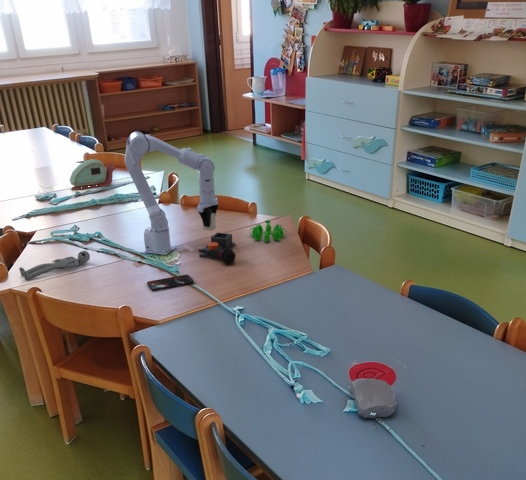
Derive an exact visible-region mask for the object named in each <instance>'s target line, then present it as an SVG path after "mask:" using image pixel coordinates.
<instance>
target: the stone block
mask: <svg viewBox="0 0 526 480" xmlns="http://www.w3.org/2000/svg"><path fill="white" fill-rule="evenodd" d="M350 384H351V385H350V393H351V396H352V399H353V402H354V406H355V408H356V410H357V411H356V412H357V413H358V416H360V417H361V418H362V419H375V418H387V417H391V416H392V415H393V414H394V413H395V412H396V409H397V405H398V402H397V399H396V398H397V397H396V395H395V392H394V391H393V390H392V387H391V386H390V384H389V383H388V382H387V381H385V380H383V379H378V378H372V377H370V378H366V377H363V378H357V379H355V380H352V382H351V383H350ZM353 396H354V397H353ZM354 399H355V400H354ZM355 401H356V403H355ZM356 404H357V406H356ZM357 407H358V409H357ZM371 412H372V413H376V415H375V416H374V415H370V413H371ZM376 416H377V417H376Z"/></svg>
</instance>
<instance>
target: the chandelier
mask: <svg viewBox="0 0 526 480" xmlns="http://www.w3.org/2000/svg"><path fill="white" fill-rule="evenodd" d="M264 223H265V224H266V226H265V230H264V228H263V226H262V225H261V224H259V223H256V225H255V226H254V227H251V228H250V229H249V231H251V233H249V236H250V237H252V238H253V240H254V241H255V242H258V241H260V240H261V239H262V238H263V237H264V238H263V239H264V240H263V241H264V242H265V243H268V242H269V241H270V239H271V236H270V235H272V239H273V240H274V241H275V242H279V241H280V240H281V239H283V238H284V237H285V236H286V235H287V230H286V229H285V228H284V227H282V225H281V224H279V223H277V224H276V225H274V226H273V229H272V225H271V220H265V221H264ZM284 232H285V234H284ZM263 235H264V236H263Z"/></svg>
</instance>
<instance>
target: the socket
mask: <svg viewBox="0 0 526 480" xmlns="http://www.w3.org/2000/svg"><path fill="white" fill-rule="evenodd" d="M211 242H216V243H218V245H221V246H222V248H228V247H229V246H230V245H231V244H232V242H233V233H226V232H218V231H217V232H216V233H215V234H213V235H212V236H211V237H210V243H211Z"/></svg>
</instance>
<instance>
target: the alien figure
mask: <svg viewBox="0 0 526 480" xmlns="http://www.w3.org/2000/svg"><path fill="white" fill-rule="evenodd" d="M90 258H91V255H90V253H89V252H88V251H87V250H82V251H80V252H78V254H77V258H76V257H74V256H67V257H63V258H56V259H55V260H53V261H51V262H48V263H47V262H46V263H41V264H38V265H34V266H33V267H31V268H29V269H26V270H25V268H23V267H21V266H19V269H18V270H19V272H20V276H21V277H23V278H24V281H31V280H33V279H35V278H38V277H40V276H42V275H45V274H48V273H51V272H53V271H55V270H56V271H59V270H66V269H69V268H73V267H74V268H75V267H78V266H82V265H85V264H86V263H88V262H89V261H90Z"/></svg>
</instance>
